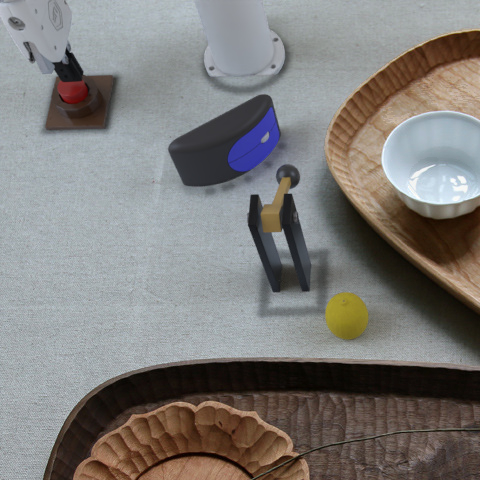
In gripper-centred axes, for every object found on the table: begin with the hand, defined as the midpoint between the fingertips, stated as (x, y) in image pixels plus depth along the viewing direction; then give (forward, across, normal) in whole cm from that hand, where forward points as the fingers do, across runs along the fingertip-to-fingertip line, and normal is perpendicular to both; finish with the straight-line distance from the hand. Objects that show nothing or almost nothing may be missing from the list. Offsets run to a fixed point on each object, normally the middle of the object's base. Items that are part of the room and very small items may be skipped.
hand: (73, 77), depth 120 cm
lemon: (+6, -40, -42) cm, 59 cm away
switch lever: (-4, -28, -34) cm, 44 cm away
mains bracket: (+6, -33, -34) cm, 48 cm away
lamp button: (+3, 0, +1) cm, 3 cm away
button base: (+5, 0, +1) cm, 5 cm away
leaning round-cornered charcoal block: (+6, -12, -24) cm, 28 cm away
